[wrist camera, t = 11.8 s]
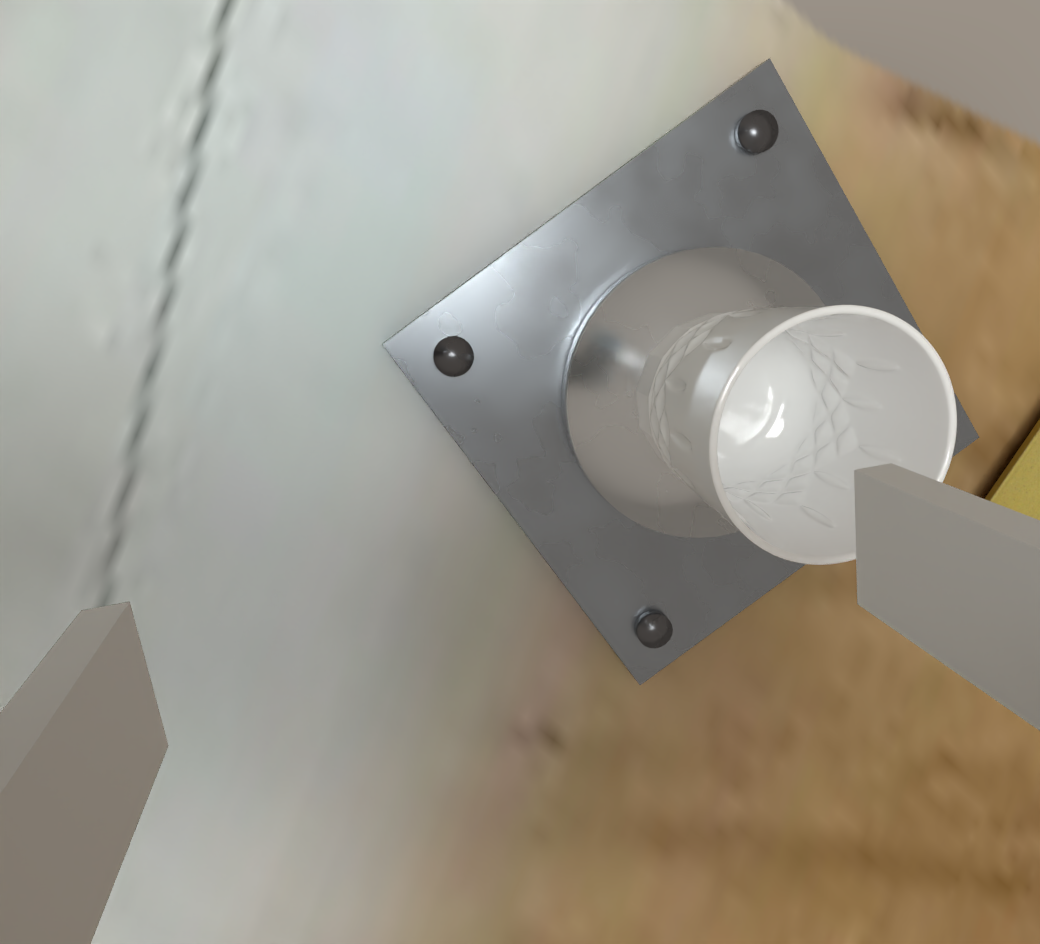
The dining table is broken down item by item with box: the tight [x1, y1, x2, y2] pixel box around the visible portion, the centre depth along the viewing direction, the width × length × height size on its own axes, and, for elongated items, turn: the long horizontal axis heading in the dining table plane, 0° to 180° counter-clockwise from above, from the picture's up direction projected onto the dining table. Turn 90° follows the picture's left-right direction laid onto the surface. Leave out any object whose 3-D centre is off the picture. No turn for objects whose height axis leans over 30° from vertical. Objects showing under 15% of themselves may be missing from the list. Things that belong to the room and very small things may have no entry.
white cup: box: [636, 305, 957, 565], centre depth 30 cm, size 8×8×10 cm
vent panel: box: [382, 59, 979, 685], centre depth 36 cm, size 19×19×2 cm
